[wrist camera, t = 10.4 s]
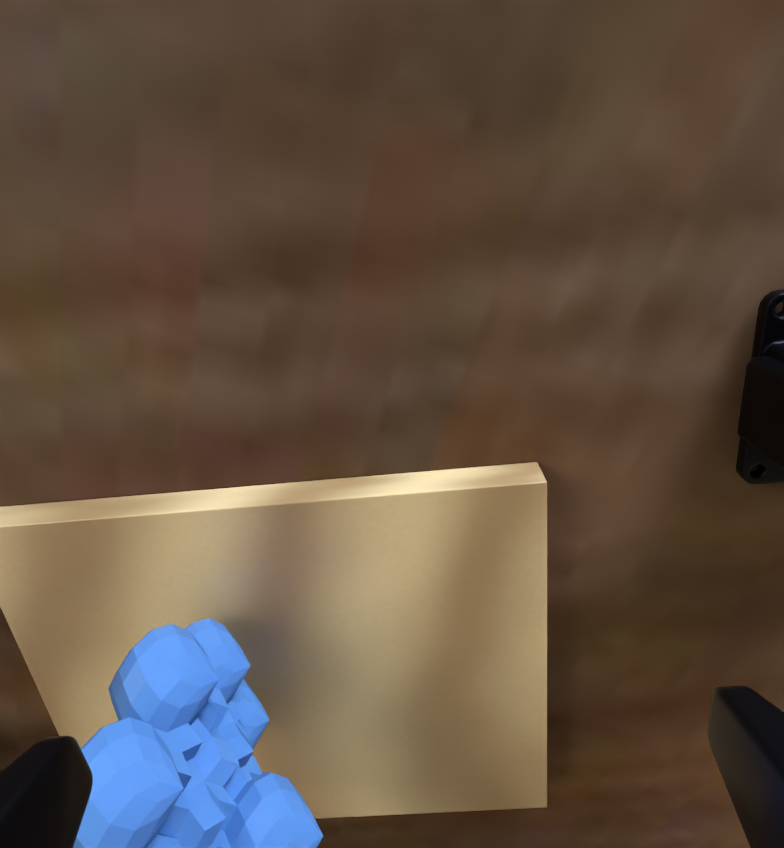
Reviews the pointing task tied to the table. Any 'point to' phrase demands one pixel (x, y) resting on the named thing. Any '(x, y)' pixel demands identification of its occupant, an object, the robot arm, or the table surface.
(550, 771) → the table surface
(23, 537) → the board
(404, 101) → the table surface
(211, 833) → the grapes
